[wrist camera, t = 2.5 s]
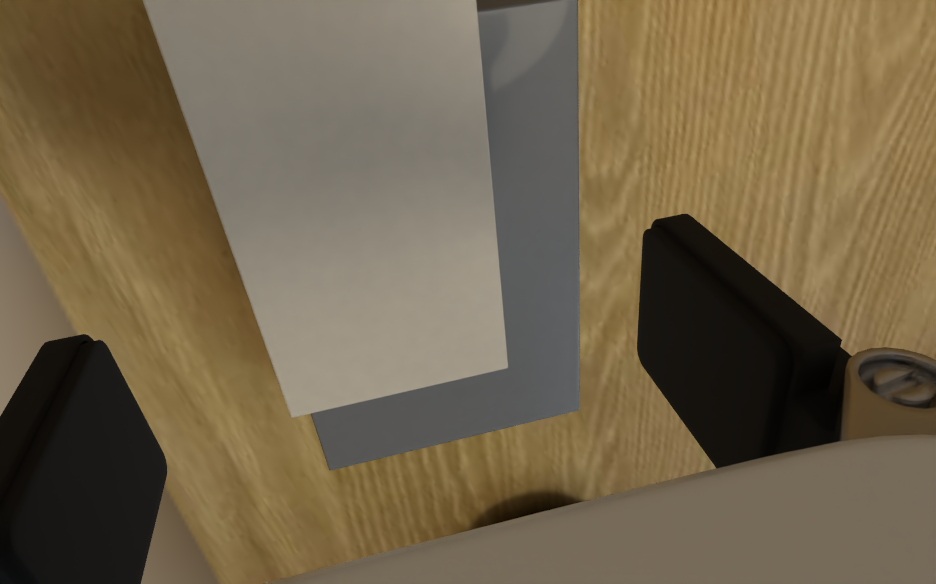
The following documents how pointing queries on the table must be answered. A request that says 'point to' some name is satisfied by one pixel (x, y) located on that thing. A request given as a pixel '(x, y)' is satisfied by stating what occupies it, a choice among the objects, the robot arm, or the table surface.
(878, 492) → the robot arm
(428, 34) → the beige flat block
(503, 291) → the grey books
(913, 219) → the table surface
